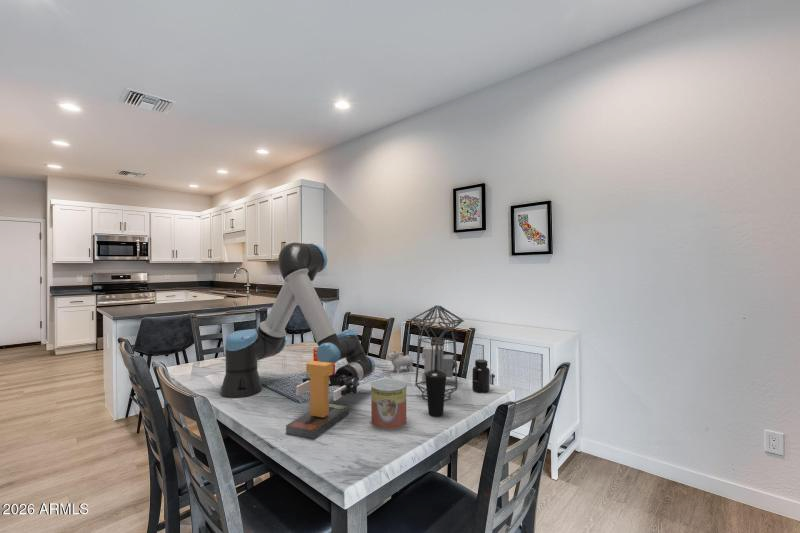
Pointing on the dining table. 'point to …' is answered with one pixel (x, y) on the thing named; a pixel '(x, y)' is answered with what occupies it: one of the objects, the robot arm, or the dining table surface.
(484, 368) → the supplement bottle
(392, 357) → the dog figurine
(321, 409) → the handle
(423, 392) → the geometric lantern
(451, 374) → the circuit breaker
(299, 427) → the switch plate
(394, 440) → the dining table surface
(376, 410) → the canned food
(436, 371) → the drinking cup
